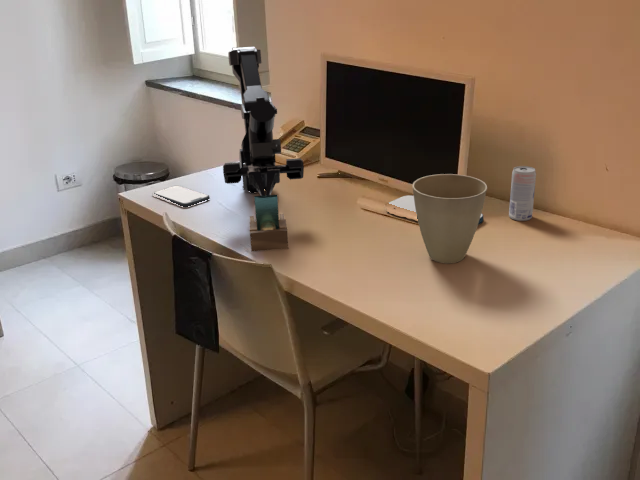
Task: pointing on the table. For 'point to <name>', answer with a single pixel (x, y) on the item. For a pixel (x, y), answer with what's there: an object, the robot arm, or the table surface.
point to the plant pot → (448, 213)
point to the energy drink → (522, 193)
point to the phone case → (182, 196)
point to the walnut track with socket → (269, 236)
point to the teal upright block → (267, 212)
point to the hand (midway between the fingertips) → (266, 203)
